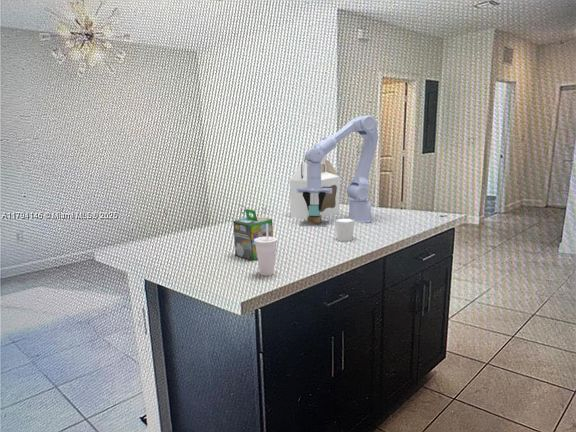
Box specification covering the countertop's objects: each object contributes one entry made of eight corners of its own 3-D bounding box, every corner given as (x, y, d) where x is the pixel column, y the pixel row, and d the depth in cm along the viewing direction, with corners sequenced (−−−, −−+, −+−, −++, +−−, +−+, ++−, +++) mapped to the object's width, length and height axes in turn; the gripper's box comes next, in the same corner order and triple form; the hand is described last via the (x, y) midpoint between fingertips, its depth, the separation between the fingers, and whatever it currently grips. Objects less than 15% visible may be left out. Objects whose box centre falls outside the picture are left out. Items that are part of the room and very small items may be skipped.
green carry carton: (274, 254, 129) (273, 208, 126) (252, 261, 123) (250, 213, 120) (256, 249, 136) (254, 205, 133) (234, 255, 129) (231, 209, 127)
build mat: (329, 221, 174) (329, 221, 174) (325, 227, 164) (325, 226, 164) (304, 221, 177) (304, 220, 177) (298, 226, 166) (298, 225, 166)
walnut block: (321, 222, 172) (321, 215, 171) (319, 224, 167) (319, 217, 167) (309, 221, 173) (309, 215, 173) (307, 224, 168) (307, 217, 168)
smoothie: (272, 278, 108) (271, 227, 105) (251, 275, 110) (249, 225, 107) (281, 270, 114) (280, 221, 111) (261, 268, 116) (259, 220, 113)
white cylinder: (331, 238, 147) (331, 219, 146) (347, 235, 150) (347, 217, 149) (342, 242, 141) (342, 223, 140) (358, 240, 144) (358, 220, 143)
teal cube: (319, 213, 170) (319, 204, 170) (318, 215, 167) (318, 206, 166) (310, 213, 171) (310, 204, 171) (308, 215, 168) (308, 206, 167)
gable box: (314, 221, 176) (314, 156, 171) (290, 218, 184) (288, 155, 179) (339, 212, 194) (340, 153, 188) (316, 210, 202) (315, 153, 196)
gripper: (294, 178, 164) (295, 211, 167) (330, 178, 161) (330, 212, 164) (298, 176, 171) (299, 208, 174) (332, 176, 167) (332, 209, 170)
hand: (314, 210), depth 169 cm, fingers closed on teal cube, 4 cm apart
